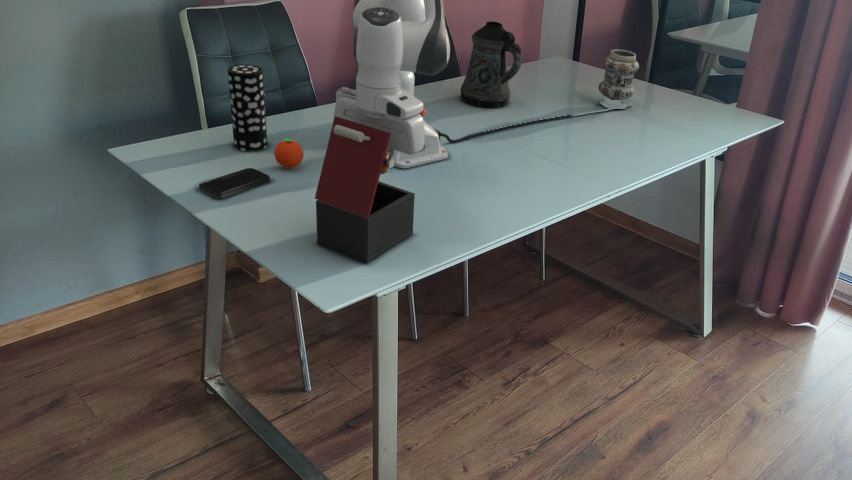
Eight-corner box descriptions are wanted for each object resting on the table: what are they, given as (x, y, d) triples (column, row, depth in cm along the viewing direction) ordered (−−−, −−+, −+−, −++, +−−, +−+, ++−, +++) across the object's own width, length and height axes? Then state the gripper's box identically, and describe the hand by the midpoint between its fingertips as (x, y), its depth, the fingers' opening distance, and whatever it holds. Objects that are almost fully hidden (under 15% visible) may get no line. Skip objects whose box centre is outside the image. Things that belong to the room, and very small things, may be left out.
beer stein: (464, 89, 257) (470, 13, 244) (521, 98, 256) (530, 21, 243) (455, 104, 243) (461, 24, 230) (515, 113, 241) (524, 33, 229)
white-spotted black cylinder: (258, 153, 194) (252, 76, 184) (228, 148, 195) (221, 70, 185) (273, 142, 201) (268, 67, 191) (243, 137, 202) (237, 62, 192)
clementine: (272, 161, 191) (270, 134, 187) (300, 159, 194) (299, 132, 190) (277, 173, 185) (276, 146, 181) (306, 171, 187) (305, 144, 184)
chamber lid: (337, 116, 149) (321, 112, 145) (391, 133, 144) (377, 129, 140) (316, 198, 152) (301, 197, 148) (369, 217, 147) (354, 217, 143)
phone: (272, 177, 180) (218, 195, 169) (272, 181, 180) (218, 199, 170) (250, 167, 183) (196, 184, 173) (250, 171, 184) (196, 188, 173)
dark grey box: (364, 217, 170) (365, 176, 164) (412, 235, 165) (414, 193, 160) (317, 244, 157) (315, 200, 152) (367, 264, 152) (368, 219, 147)
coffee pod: (361, 167, 156) (362, 146, 154) (382, 164, 159) (383, 144, 156) (370, 175, 153) (371, 155, 151) (391, 172, 155) (392, 152, 153)
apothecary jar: (633, 113, 254) (643, 59, 244) (597, 109, 253) (606, 55, 244) (628, 101, 264) (638, 49, 255) (594, 98, 264) (603, 46, 254)
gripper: (326, 87, 149) (327, 153, 156) (412, 113, 142) (408, 181, 149) (346, 81, 154) (346, 145, 161) (430, 105, 147) (426, 171, 154)
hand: (377, 162), depth 155 cm, fingers closed on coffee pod, 4 cm apart
